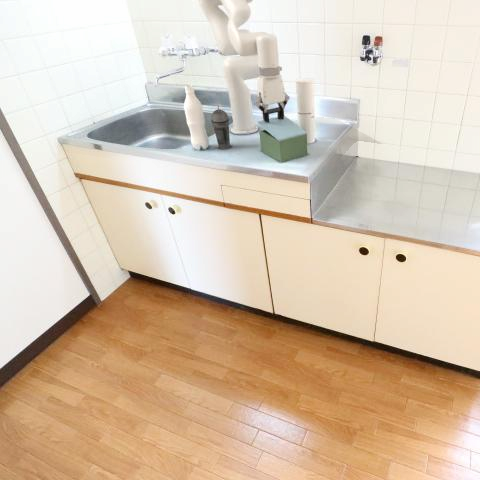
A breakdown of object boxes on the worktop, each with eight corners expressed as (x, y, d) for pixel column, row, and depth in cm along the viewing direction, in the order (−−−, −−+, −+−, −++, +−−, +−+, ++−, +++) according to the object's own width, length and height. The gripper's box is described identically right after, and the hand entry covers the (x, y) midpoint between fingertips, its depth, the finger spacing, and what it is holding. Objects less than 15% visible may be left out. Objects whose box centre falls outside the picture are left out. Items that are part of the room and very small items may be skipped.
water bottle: (207, 150, 155) (195, 87, 141) (190, 151, 156) (176, 88, 141) (211, 144, 161) (200, 83, 147) (195, 144, 161) (182, 83, 147)
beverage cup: (231, 143, 162) (224, 95, 151) (234, 148, 157) (227, 99, 145) (214, 145, 160) (206, 97, 149) (217, 151, 155) (208, 101, 143)
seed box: (261, 150, 155) (259, 130, 150) (286, 143, 161) (285, 124, 156) (281, 162, 144) (279, 141, 140) (307, 154, 150) (306, 134, 146)
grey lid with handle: (257, 123, 149) (257, 109, 145) (284, 117, 155) (284, 104, 151) (279, 141, 140) (279, 127, 136) (306, 134, 146) (307, 120, 142)
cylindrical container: (296, 139, 165) (292, 79, 150) (310, 136, 167) (308, 77, 153) (303, 144, 160) (300, 82, 145) (317, 141, 162) (316, 80, 148)
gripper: (283, 67, 146) (287, 114, 157) (244, 73, 138) (250, 122, 148) (294, 70, 141) (297, 118, 151) (253, 76, 133) (259, 126, 143)
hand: (274, 119), depth 150 cm, fingers closed on grey lid with handle, 6 cm apart
